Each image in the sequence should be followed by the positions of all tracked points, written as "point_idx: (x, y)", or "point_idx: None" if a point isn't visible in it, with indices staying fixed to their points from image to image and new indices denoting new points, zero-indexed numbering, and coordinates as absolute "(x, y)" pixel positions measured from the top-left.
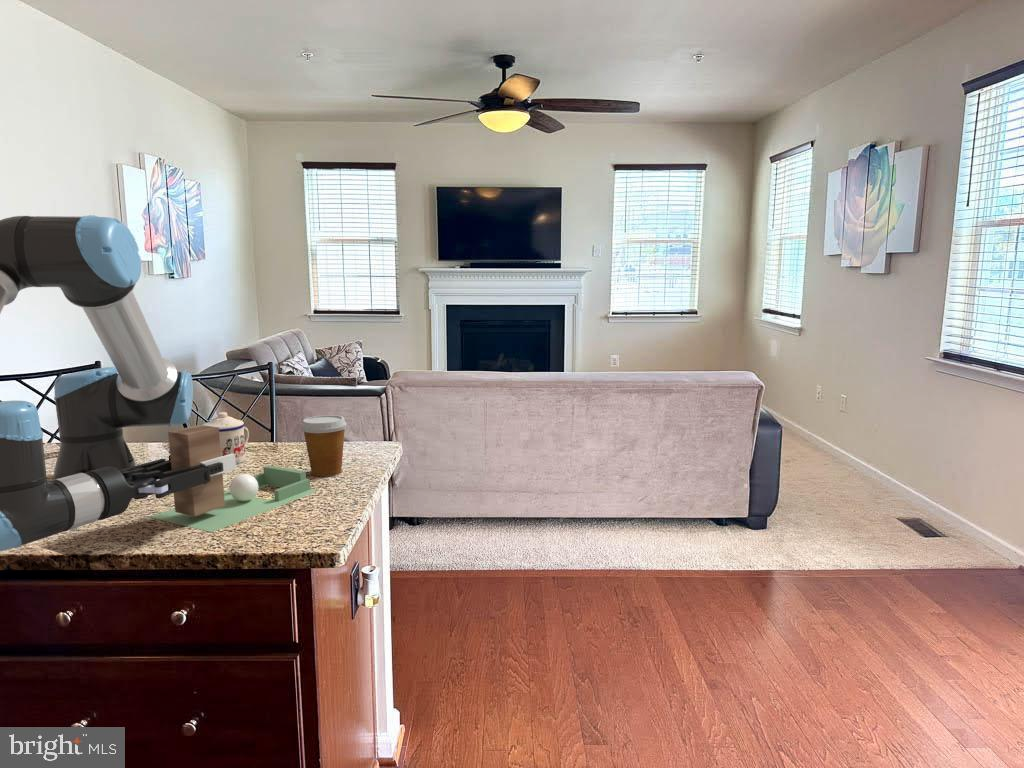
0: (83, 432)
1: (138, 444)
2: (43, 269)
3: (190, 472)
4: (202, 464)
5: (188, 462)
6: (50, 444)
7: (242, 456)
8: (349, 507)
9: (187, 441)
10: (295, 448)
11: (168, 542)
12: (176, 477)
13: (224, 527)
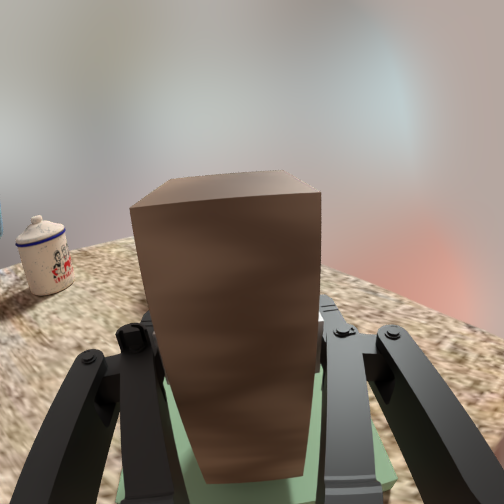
0: None
1: None
2: None
3: (439, 384)
4: (347, 327)
5: (304, 344)
6: None
7: (73, 272)
8: (383, 300)
9: (312, 235)
10: (111, 248)
11: None
12: (485, 443)
13: (384, 449)
